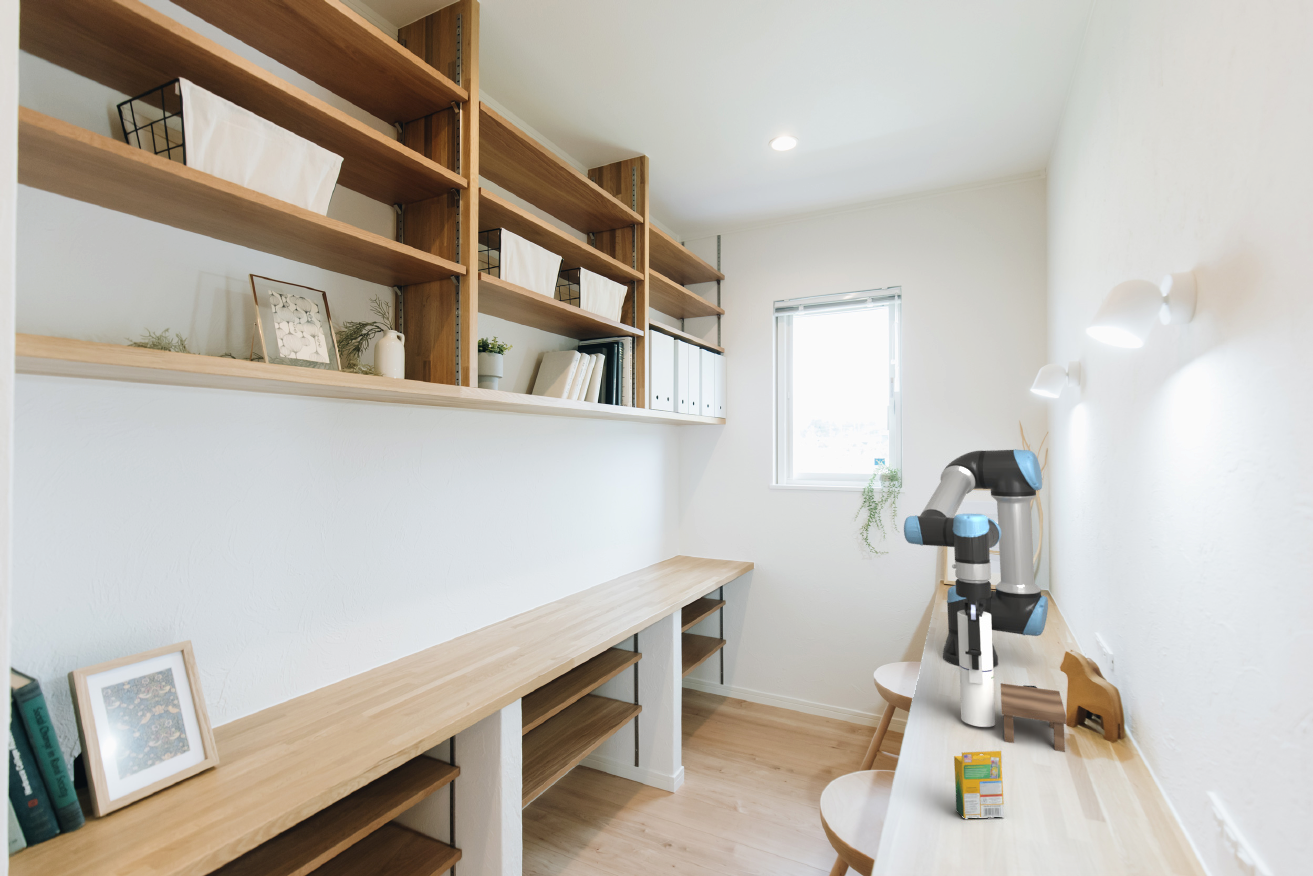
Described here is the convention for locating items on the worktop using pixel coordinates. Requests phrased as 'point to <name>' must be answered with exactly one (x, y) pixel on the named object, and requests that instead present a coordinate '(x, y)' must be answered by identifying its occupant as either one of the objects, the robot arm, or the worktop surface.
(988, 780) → the crayon box
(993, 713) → the cylindrical container
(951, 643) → the robot arm
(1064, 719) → the brown flat-topped stand
